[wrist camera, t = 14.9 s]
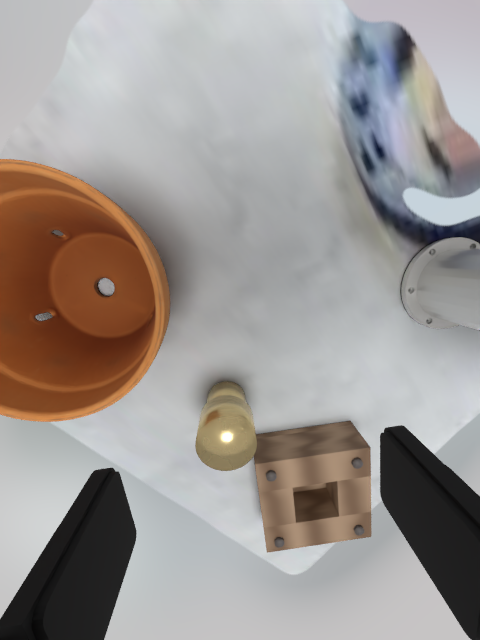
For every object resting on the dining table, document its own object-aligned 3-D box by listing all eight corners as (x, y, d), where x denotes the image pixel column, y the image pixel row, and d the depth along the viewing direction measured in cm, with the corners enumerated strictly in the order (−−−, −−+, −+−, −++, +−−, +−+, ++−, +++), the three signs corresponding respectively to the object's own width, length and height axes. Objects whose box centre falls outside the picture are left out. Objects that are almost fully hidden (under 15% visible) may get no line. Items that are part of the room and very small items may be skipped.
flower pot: (124, 165, 32) (39, 90, 17) (218, 309, 37) (213, 343, 22) (-10, 260, 34) (-186, 262, 19) (97, 385, 38) (19, 462, 24)
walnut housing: (350, 420, 42) (372, 450, 35) (352, 500, 46) (373, 540, 39) (251, 435, 41) (255, 467, 35) (261, 514, 45) (267, 556, 39)
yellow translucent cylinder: (246, 374, 39) (253, 413, 29) (252, 415, 41) (260, 466, 31) (199, 380, 39) (190, 422, 29) (207, 421, 41) (200, 474, 31)
